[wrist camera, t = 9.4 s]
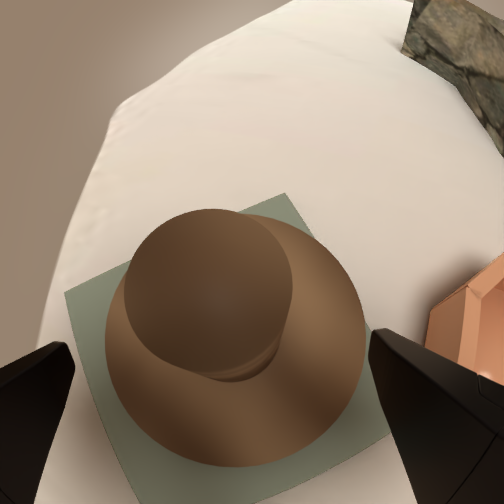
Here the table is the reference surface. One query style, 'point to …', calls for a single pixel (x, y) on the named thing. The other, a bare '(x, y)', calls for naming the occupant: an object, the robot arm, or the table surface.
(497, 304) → the terracotta bowl
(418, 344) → the robot arm
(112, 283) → the rubber mat
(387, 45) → the table surface
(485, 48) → the stone wall
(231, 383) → the walnut lid
